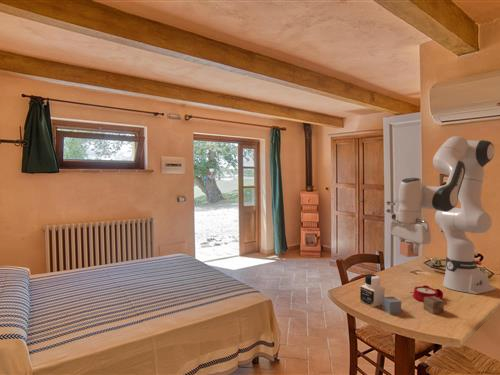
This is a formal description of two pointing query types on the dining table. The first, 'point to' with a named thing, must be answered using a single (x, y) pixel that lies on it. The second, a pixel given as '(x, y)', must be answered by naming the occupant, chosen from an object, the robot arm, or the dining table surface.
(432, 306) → the walnut block
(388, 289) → the dining table surface
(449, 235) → the robot arm
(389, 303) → the slate-grey block
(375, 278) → the medicine bottle
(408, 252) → the terracotta block
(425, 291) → the alarm clock
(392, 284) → the dining table surface
